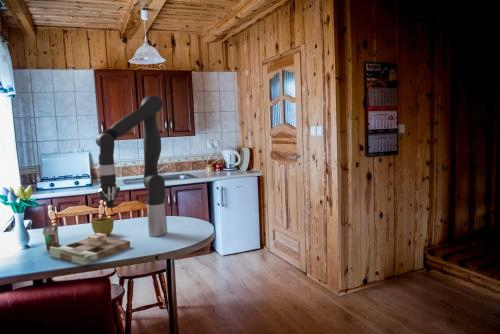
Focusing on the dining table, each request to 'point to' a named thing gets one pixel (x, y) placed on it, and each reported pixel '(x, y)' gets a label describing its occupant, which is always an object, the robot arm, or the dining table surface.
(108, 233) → the flower pot
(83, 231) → the dining table surface
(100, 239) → the block
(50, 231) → the food container
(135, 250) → the dining table surface
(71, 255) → the wooden puzzle tray
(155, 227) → the robot arm
